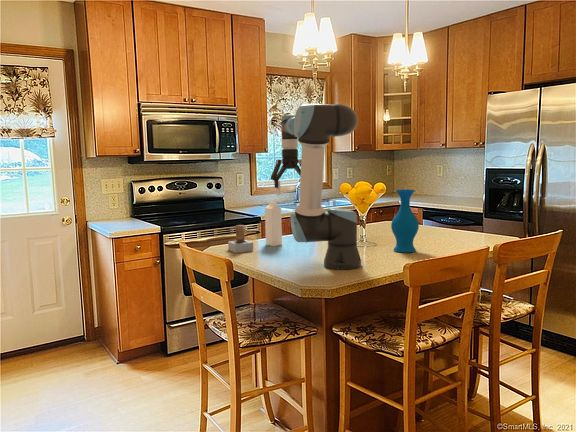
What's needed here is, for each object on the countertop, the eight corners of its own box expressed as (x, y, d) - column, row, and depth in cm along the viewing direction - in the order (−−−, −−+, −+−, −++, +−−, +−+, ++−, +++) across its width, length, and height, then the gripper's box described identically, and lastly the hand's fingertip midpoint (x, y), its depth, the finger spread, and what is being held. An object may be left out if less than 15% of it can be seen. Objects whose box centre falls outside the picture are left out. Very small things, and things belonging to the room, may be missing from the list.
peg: (246, 250, 226) (245, 225, 224) (238, 251, 224) (237, 226, 222) (242, 249, 229) (241, 224, 227) (235, 250, 227) (234, 225, 225)
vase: (423, 250, 217) (424, 190, 213) (408, 255, 208) (409, 192, 204) (401, 247, 225) (401, 188, 222) (385, 251, 217) (386, 190, 213)
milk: (272, 246, 234) (271, 202, 231) (265, 244, 239) (264, 201, 236) (282, 244, 238) (281, 201, 234) (275, 243, 242) (274, 200, 239)
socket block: (253, 250, 225) (253, 242, 224) (236, 252, 220) (235, 244, 220) (245, 247, 232) (245, 239, 232) (228, 249, 228) (228, 241, 227)
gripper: (307, 148, 229) (308, 191, 232) (262, 149, 217) (263, 195, 219) (316, 148, 223) (317, 192, 226) (270, 148, 210) (271, 196, 213)
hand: (290, 194), depth 223 cm, fingers open, 13 cm apart
